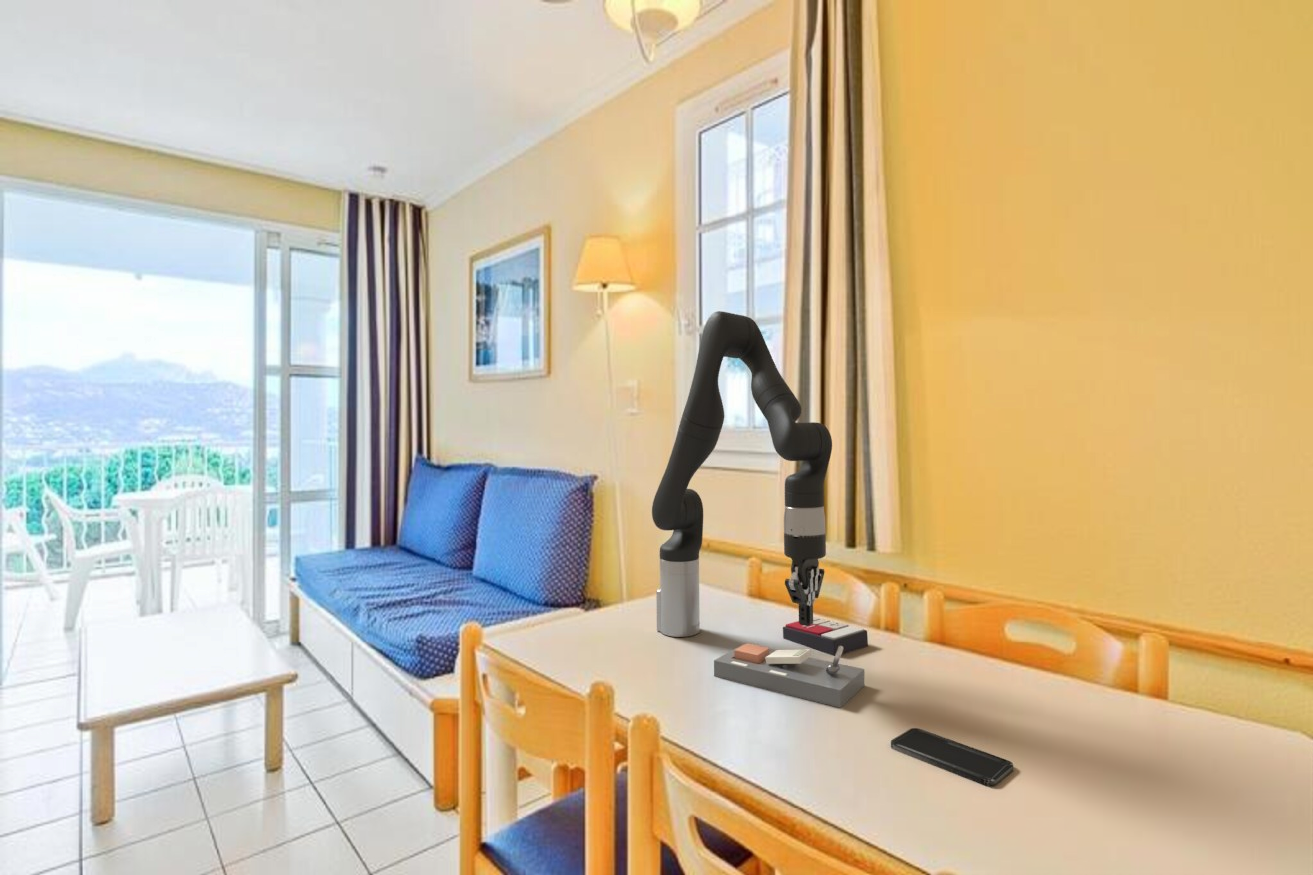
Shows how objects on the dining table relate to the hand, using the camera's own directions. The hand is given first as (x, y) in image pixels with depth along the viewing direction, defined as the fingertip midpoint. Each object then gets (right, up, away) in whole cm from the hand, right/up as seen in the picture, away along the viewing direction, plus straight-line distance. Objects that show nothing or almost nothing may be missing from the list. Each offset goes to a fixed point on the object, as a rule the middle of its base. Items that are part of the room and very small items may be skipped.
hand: (806, 624), depth 122 cm
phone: (+15, -12, -27) cm, 33 cm away
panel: (-3, -11, +2) cm, 12 cm away
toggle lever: (+4, -8, -3) cm, 10 cm away
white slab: (-3, -7, +2) cm, 8 cm away
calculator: (+10, -11, +24) cm, 29 cm away
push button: (-9, -10, +7) cm, 15 cm away
